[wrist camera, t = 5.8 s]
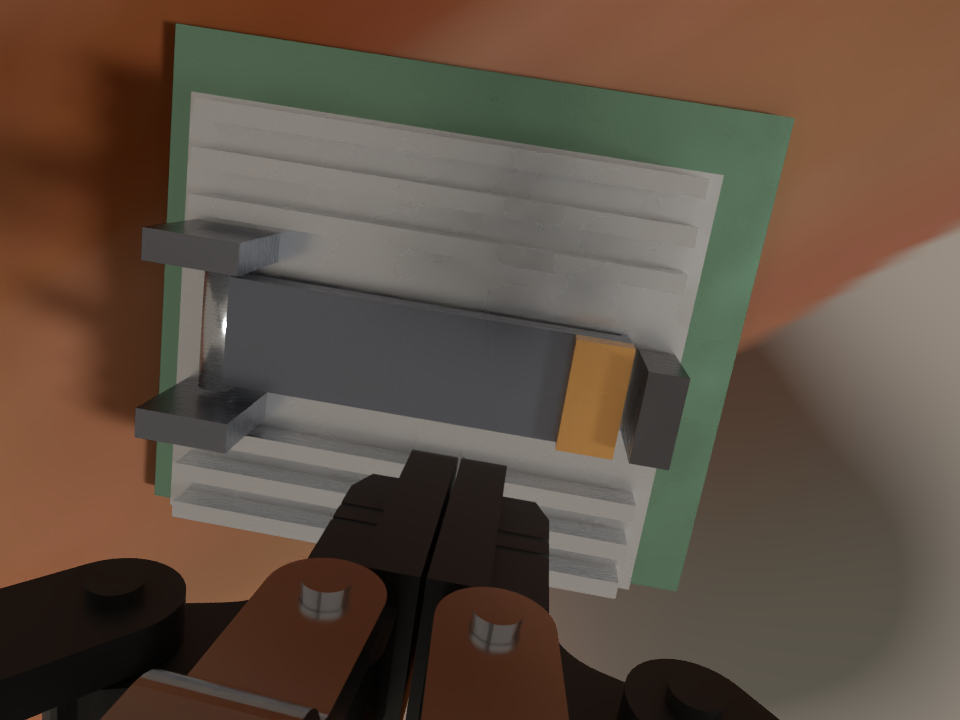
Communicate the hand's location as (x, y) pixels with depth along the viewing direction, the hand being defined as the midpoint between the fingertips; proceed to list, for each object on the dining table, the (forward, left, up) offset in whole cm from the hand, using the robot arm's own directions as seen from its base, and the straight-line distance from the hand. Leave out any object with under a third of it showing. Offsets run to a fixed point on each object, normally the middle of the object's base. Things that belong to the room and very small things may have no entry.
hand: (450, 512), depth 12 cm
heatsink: (0, -2, -14) cm, 14 cm away
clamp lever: (0, -2, -9) cm, 10 cm away
